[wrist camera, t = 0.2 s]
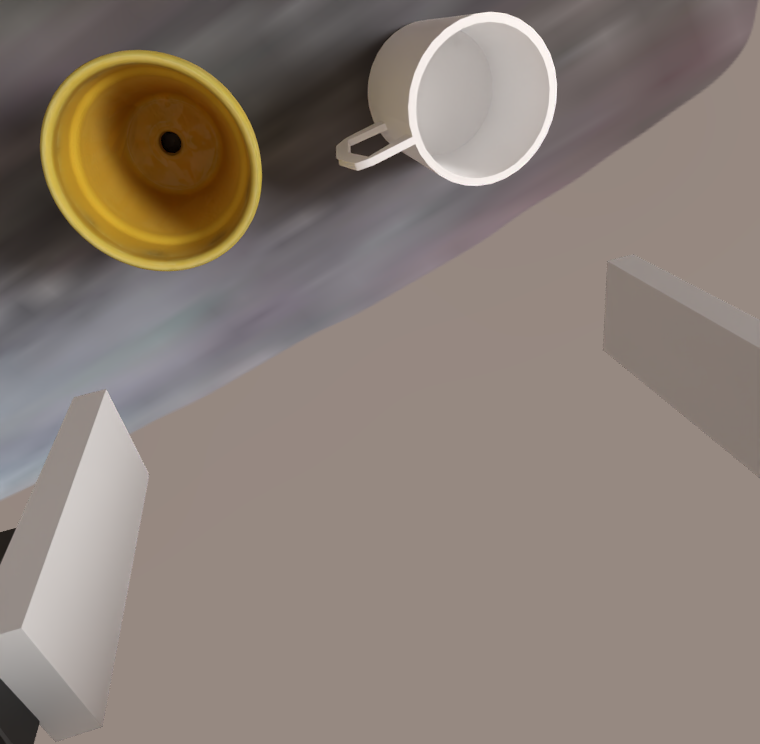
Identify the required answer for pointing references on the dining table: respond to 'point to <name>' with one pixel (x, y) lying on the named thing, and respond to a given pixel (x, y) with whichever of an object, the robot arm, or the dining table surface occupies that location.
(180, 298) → the dining table surface
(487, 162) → the cup
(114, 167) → the plant pot
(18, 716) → the robot arm
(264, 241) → the dining table surface
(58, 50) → the dining table surface
